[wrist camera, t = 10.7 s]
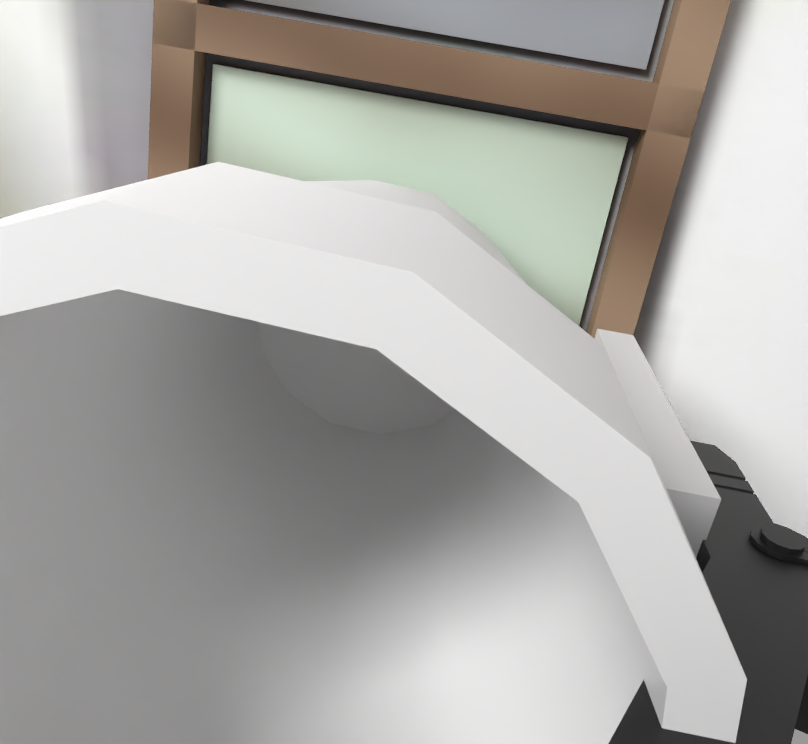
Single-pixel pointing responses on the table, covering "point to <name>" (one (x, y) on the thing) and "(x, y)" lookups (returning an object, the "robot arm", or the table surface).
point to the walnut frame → (458, 120)
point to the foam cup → (323, 484)
